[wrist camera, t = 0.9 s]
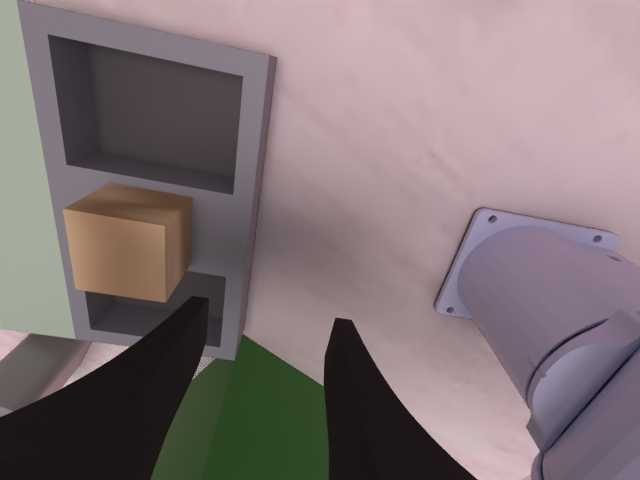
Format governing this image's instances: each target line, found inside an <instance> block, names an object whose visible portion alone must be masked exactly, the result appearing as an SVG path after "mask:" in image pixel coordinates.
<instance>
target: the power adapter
mask: <svg viewBox="0 0 640 480" xmlns="http://www.w3.org/2000/svg"><path fill="white" fill-rule="evenodd" d="M91 342H92V341H85V340H78V339H70V338H63V337H56V336H48V335H41V334H34V333H30V334H29V335H28V336H27V337H26V338H25V339H24V340H23V341H22V342H21V343H19V344H18V345H17V346H16V347H15V348H14V349H13V350H12V351H11V352H10V353H9V354H8V355H7V356H5V357H4V358H3V359H2V360H1V361H0V417H1V416H4V415H6V414H9V413H11V412H13V411H16V410H18V409H20V408H22V407H25V406H27V405H29V404H31V403H33V402H35V401H37V400H40V399H42V398H44V397H46V396H48V395H50V394H52V393H54V392H56V391H58V390H60V389H61V388H62V387H63V386H64V384H65V383H66V382H67V381H68V379H69V378H70V377H71V376H72V374H73V373H74V372H75V371H76V369H77V368H78V367H79V366H80V364H81V363H82V361H83V359H84V357H85V355H86V352H87V350H88V348H89V346H90V344H91Z"/></svg>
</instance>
